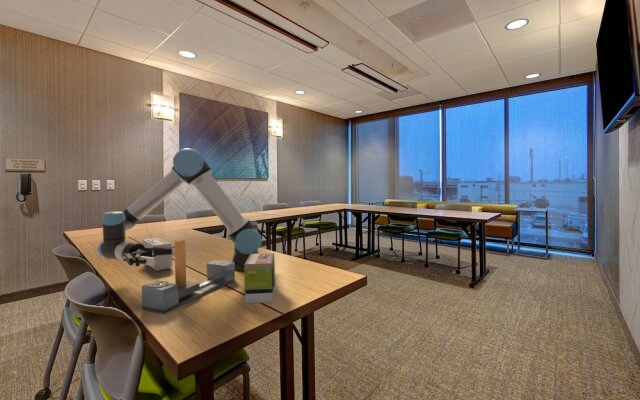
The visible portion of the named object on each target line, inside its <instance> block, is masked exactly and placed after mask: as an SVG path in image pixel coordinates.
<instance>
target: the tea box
mask: <svg viewBox="0 0 640 400" xmlns="http://www.w3.org/2000/svg"><path fill="white" fill-rule="evenodd" d="M275 265H276V264H275V252H269V253H268V252H267V253H259V254H250V256H249V257H248V259H247V261H246V263H245V264H244V270H243V271H244V298H245V303H246V304H264V302H269V303H273V302H274V296H275V293H276V292H275V291H276V266H275Z"/></svg>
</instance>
